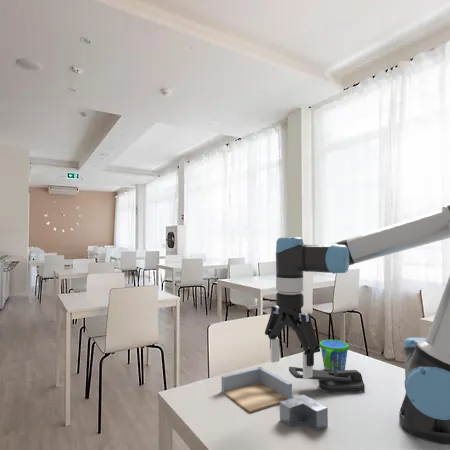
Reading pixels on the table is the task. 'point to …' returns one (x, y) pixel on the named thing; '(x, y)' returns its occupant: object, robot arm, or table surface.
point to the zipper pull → (335, 380)
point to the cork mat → (255, 396)
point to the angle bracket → (304, 412)
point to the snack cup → (334, 354)
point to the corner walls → (257, 376)
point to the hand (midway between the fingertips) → (290, 369)
